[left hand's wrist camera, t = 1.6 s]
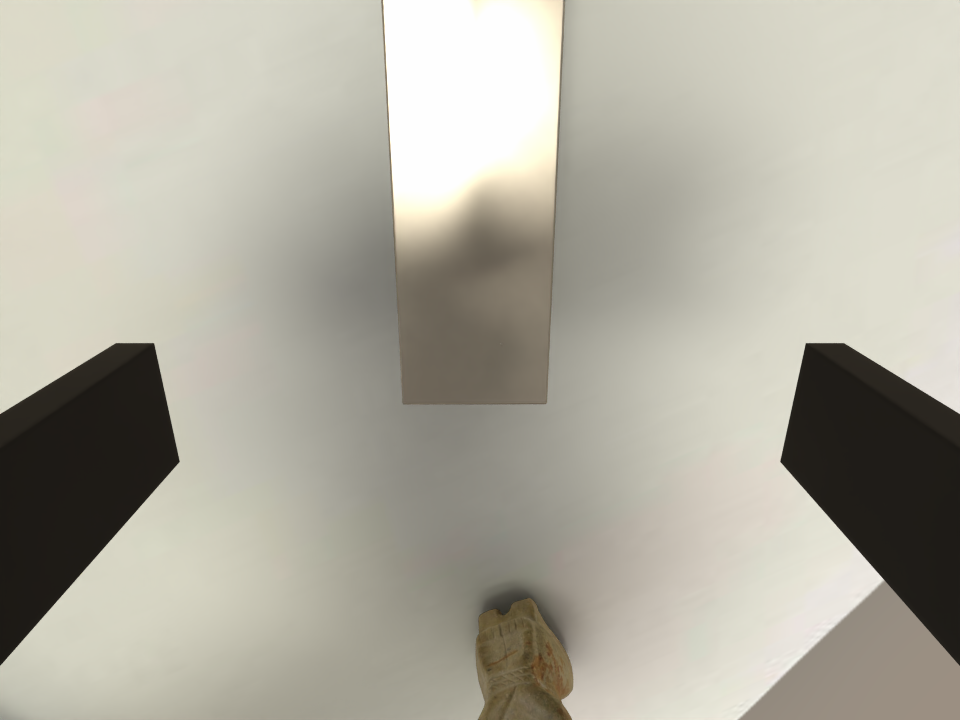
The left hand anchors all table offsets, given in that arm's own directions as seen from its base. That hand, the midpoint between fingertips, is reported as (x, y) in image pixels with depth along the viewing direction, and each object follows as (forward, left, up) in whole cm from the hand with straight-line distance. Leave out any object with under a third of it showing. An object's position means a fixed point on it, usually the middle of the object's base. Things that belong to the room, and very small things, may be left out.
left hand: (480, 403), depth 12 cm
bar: (+6, +4, -17) cm, 19 cm away
